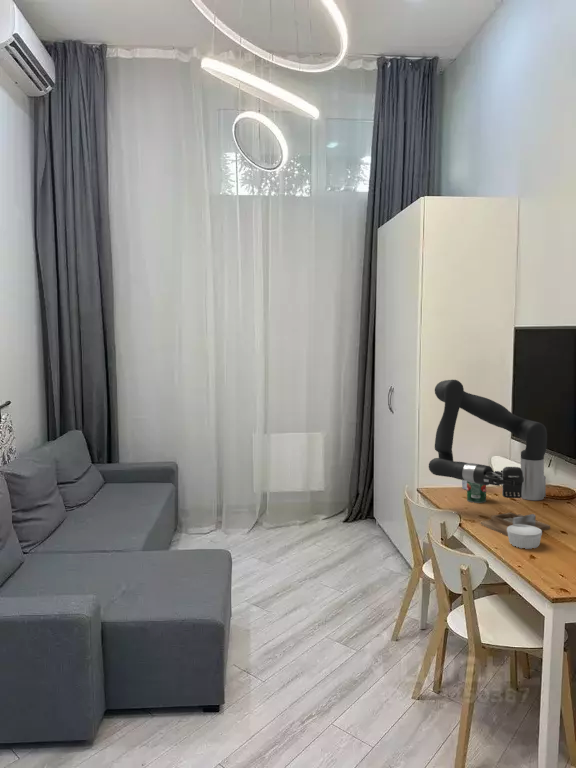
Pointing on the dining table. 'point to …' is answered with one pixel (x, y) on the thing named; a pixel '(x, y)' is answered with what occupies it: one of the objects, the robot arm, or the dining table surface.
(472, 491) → the canned tomato
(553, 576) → the dining table surface
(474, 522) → the dining table surface
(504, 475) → the battery charger
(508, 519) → the rail board
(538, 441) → the robot arm
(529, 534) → the ramekin
